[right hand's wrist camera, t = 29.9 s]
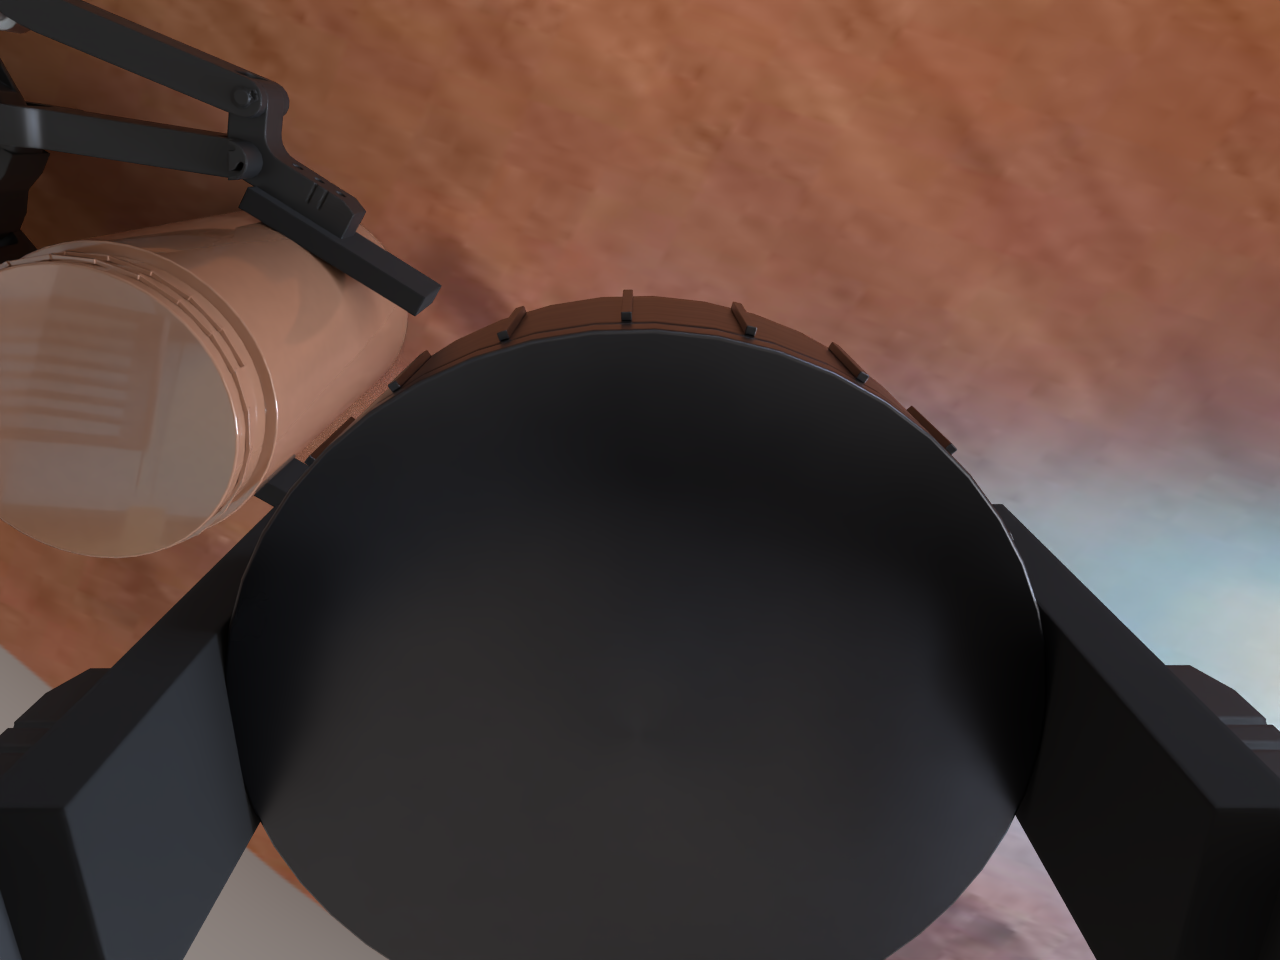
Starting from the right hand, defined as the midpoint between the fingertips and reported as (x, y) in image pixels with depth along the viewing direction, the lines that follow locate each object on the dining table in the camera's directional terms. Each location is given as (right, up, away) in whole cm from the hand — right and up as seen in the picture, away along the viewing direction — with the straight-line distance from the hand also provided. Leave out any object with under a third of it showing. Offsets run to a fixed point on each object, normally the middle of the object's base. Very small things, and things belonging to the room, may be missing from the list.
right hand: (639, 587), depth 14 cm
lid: (0, -1, -3) cm, 3 cm away
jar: (-14, +9, +24) cm, 29 cm away
